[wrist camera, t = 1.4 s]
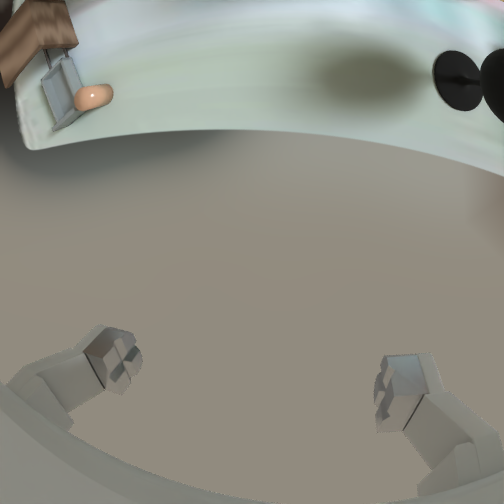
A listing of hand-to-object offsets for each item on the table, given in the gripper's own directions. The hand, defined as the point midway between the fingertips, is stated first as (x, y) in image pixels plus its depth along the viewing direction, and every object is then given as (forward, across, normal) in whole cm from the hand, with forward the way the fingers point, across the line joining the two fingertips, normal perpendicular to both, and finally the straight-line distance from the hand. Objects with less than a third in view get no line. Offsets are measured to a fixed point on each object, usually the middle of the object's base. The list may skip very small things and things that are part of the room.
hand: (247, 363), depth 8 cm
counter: (+30, +42, -29) cm, 59 cm away
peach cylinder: (+32, +32, -18) cm, 49 cm away
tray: (+31, +40, -22) cm, 55 cm away
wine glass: (+36, -26, -18) cm, 48 cm away
